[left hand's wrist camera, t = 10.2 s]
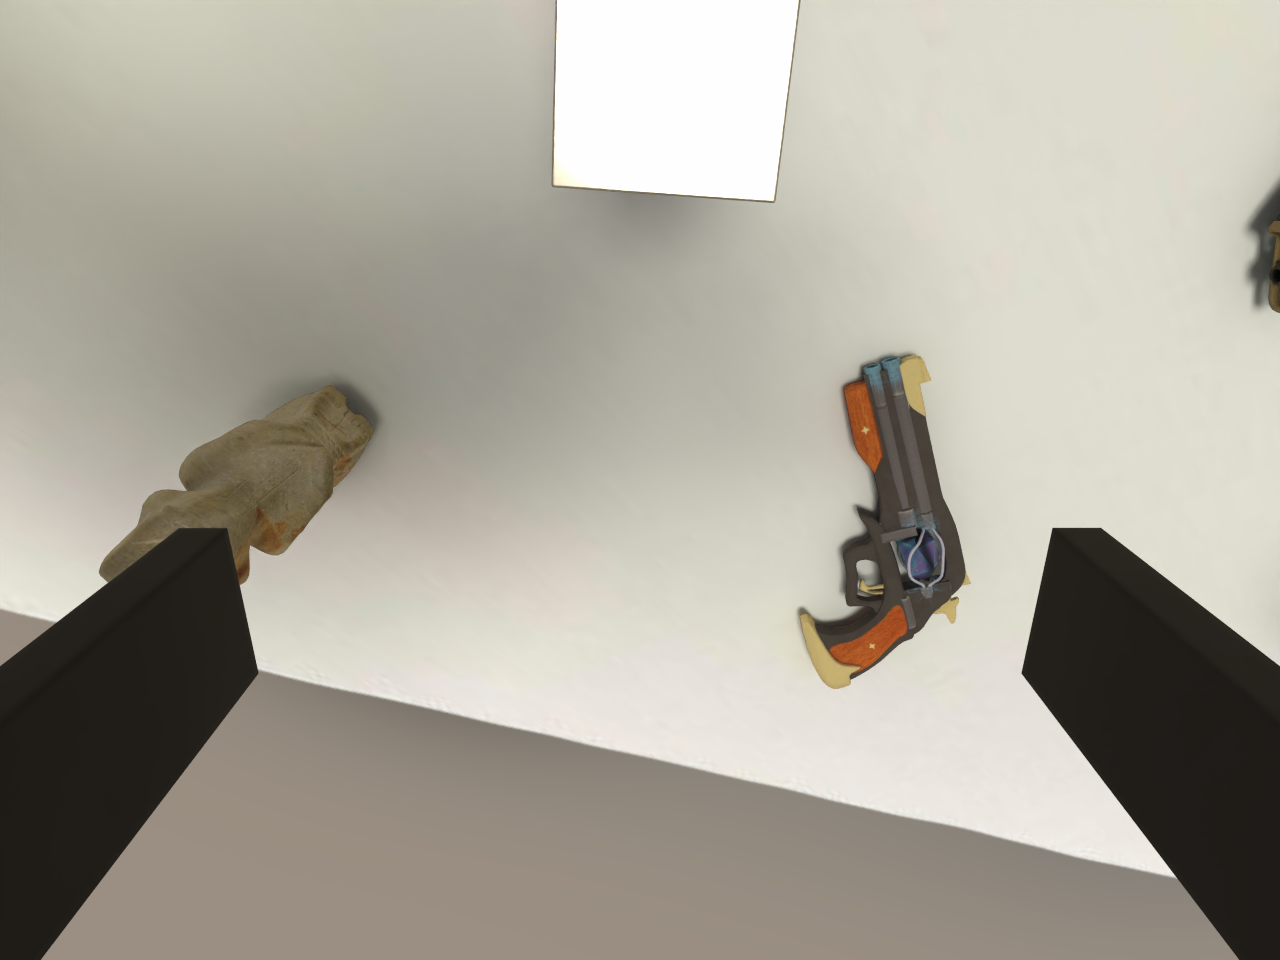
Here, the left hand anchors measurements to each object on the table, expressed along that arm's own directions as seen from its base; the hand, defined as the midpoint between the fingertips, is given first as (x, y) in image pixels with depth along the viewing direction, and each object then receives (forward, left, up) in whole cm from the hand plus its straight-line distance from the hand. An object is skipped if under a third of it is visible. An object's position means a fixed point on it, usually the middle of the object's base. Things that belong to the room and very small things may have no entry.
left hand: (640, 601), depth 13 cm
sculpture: (-15, -12, -30) cm, 36 cm away
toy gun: (+16, -9, -30) cm, 35 cm away
